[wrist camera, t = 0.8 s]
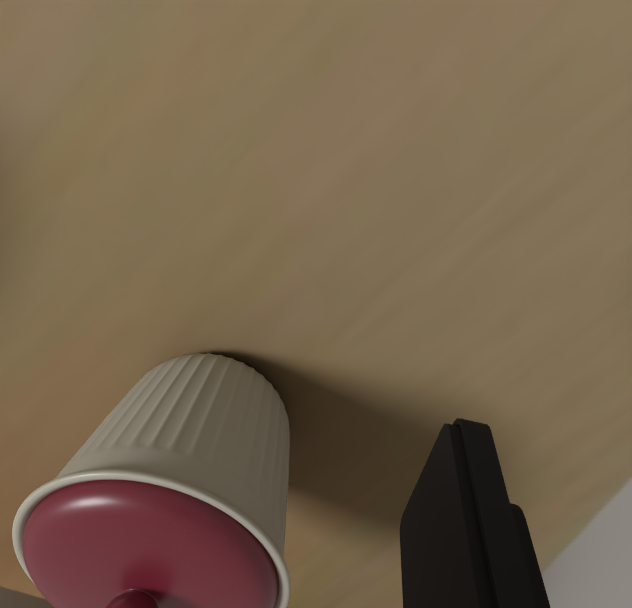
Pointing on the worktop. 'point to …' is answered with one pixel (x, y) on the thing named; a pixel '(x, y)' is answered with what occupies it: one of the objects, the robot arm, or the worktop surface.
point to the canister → (169, 498)
